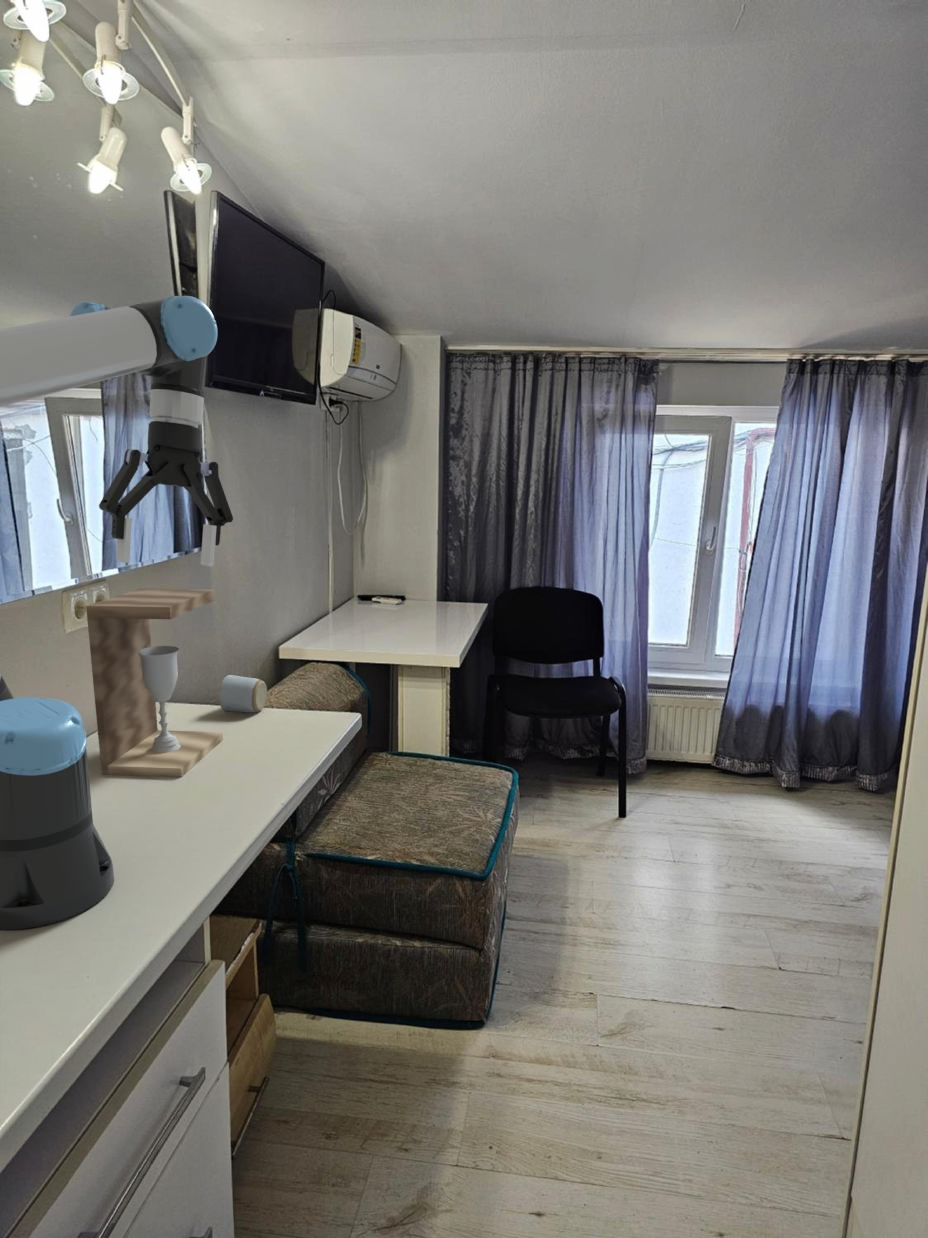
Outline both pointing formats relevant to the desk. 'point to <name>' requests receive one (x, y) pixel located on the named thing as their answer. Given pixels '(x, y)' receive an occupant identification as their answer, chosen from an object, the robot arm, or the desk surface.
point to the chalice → (161, 688)
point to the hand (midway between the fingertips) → (166, 564)
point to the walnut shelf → (137, 683)
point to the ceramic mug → (242, 694)
